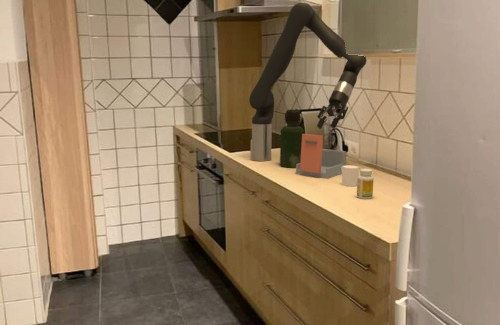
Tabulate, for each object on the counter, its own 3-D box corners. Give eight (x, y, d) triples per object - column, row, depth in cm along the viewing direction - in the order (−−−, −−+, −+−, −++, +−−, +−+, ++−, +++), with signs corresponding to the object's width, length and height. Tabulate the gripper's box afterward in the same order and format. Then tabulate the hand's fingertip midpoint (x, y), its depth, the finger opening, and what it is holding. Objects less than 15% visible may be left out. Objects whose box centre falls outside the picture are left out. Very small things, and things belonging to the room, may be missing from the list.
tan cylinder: (337, 183, 195) (337, 165, 194) (352, 182, 198) (353, 164, 196) (346, 187, 189) (347, 169, 188) (362, 186, 191) (363, 167, 190)
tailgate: (301, 170, 210) (303, 133, 208) (320, 173, 204) (323, 135, 202) (299, 170, 208) (301, 133, 206) (318, 173, 203) (320, 135, 201)
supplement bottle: (353, 197, 175) (354, 169, 173) (361, 194, 179) (363, 167, 177) (367, 200, 172) (368, 172, 170) (375, 197, 176) (377, 169, 174)
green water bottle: (307, 167, 225) (308, 110, 220) (285, 168, 222) (286, 111, 217) (297, 163, 235) (299, 108, 230) (276, 164, 231) (277, 109, 227)
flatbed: (314, 167, 224) (315, 147, 222) (345, 172, 215) (346, 151, 213) (296, 173, 212) (296, 152, 211) (327, 178, 203) (328, 156, 202)
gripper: (324, 91, 219) (308, 123, 215) (347, 88, 207) (331, 122, 203) (335, 100, 223) (320, 132, 219) (358, 98, 211) (343, 132, 207)
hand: (325, 127), depth 211 cm, fingers open, 8 cm apart
